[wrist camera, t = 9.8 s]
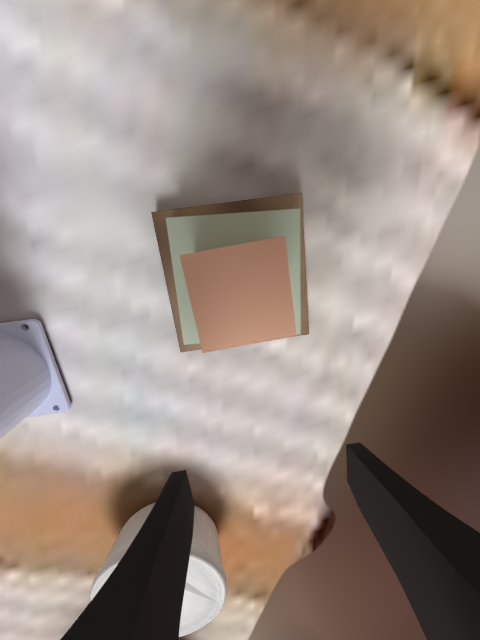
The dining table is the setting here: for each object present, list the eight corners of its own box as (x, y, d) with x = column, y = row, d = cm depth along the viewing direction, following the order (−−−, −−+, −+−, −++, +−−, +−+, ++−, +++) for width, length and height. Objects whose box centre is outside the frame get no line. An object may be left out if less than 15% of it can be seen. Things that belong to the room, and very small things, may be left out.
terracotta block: (209, 323, 16) (202, 353, 12) (194, 254, 15) (179, 255, 10) (276, 311, 16) (296, 335, 12) (266, 241, 15) (284, 235, 10)
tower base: (184, 342, 21) (180, 352, 19) (159, 216, 18) (151, 212, 16) (301, 326, 21) (309, 334, 19) (293, 199, 18) (301, 193, 16)
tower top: (188, 335, 19) (183, 344, 17) (172, 221, 16) (165, 217, 15) (293, 326, 19) (300, 334, 17) (291, 213, 17) (300, 208, 15)
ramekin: (232, 492, 25) (233, 554, 20) (219, 569, 28) (218, 641, 23) (115, 486, 24) (86, 551, 19) (116, 567, 27) (90, 642, 22)
